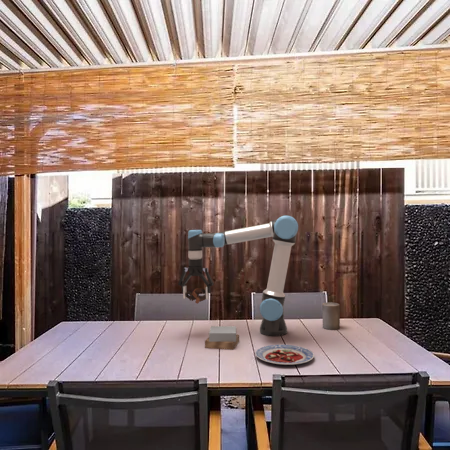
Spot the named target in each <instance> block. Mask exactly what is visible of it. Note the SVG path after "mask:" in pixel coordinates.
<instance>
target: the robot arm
mask: <svg viewBox="0 0 450 450" xmlns="http://www.w3.org/2000/svg"><path fill="white" fill-rule="evenodd" d="M298 231H299V223H298V221H297V220H296V219H295V218H294V216H291V215H282V216H280V217H278V218H277V219H274V220H270V222H269V223H263V224H262V223H261V224H258V225H257V224H256V225H253V226H247V227H241V228H236V229H232V230H231V229H230V230H225V231H220V232H212V233H211V232H210V233H203V230H202V229H190V230H188V232H187V235H188V236H187V245H188V247H187V249H188V250H187V251H188V252H187V254H188V260H187V261H188V267H183V268H182V273H181V275H180V278H179V280H178V283H177V285H178V286H180V287H181V292H182V293H183V295H182V296H183V297H182V298H183V299H187V297H186V295H185V294H186V292H187V285H186V284H187V283H188V281H189V280H190V279H191V277H200V278H201V280H202V281H203V282H204V284H205V285H206V287H205V291H206V300H207V301H208V300H209V298H210V297H209V296H210V293H211V287H212V286H214V281H213V278H212V277H211V274H210V272H209V268H208V267H203V248H216V249H217V248H223V247H224V246H226V245H232V244H238V243H244V242H250V241H255V240H260V239H265V238H272V241H273V243H274V246H273V251H272V258H271V263H270V267H269V274H268V279H267V285H266V289H264V290H263V291H262V294H261V296H262V297H261V301H260V304H259V312H260V315H261V317H262V320H261V323H260V326H259V333H260V334H261V335H263V336H264V335H265V336H272V337H276V336H277V337H278V336H284V335H287V334H288V327H287V324H286V320H285V311H284V310H285V307H284V306H285V299H286V294H285V293H284V290H285V284H286V278H287V274H288V268H289V262H290V256H291V252H292V251H291V250H292V246H294V245H295V244H296V241H297V235H298ZM187 272H189V273H188V274H187ZM203 272H204V273H203ZM204 274H205V275H204ZM186 275H187V276H186ZM205 276H206V277H205ZM185 277H186V278H185ZM206 300H205V301H206Z"/></svg>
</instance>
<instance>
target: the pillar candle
mask: <svg viewBox="0 0 450 450" xmlns="http://www.w3.org/2000/svg"><path fill="white" fill-rule="evenodd" d="M321 307H322V308H321V310H322V311H321V312H322V329H325V330H330V331H333V330H334V331H335V330H336V331H337V330H340V329H341V319H340V318H341V315H340V314H341V313H340V312H341V311H340V310H341V309H340V303H337V302H332V301H330V302H323V303H322V304H321Z"/></svg>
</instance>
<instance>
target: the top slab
mask: <svg viewBox="0 0 450 450" xmlns="http://www.w3.org/2000/svg"><path fill="white" fill-rule="evenodd" d="M236 334H237V326H235V325H233V326H232V325H229V326H228V325H219V326H218V325H217V326H215V325H214V326H213V325H211V326H210V329H209V333H208V337H209V342H236Z"/></svg>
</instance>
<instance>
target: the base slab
mask: <svg viewBox="0 0 450 450" xmlns="http://www.w3.org/2000/svg"><path fill="white" fill-rule="evenodd" d="M239 343H240V334H237V333H236V342H209V336H208V337H207V338H206V339H205V340H204V348H205V349H216V350H217V349H219V350H230V351H234V350H235V348H236V347H237V345H238V344H239Z"/></svg>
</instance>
